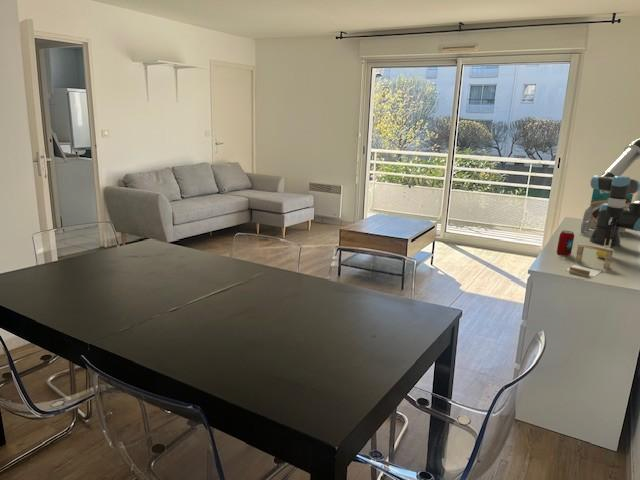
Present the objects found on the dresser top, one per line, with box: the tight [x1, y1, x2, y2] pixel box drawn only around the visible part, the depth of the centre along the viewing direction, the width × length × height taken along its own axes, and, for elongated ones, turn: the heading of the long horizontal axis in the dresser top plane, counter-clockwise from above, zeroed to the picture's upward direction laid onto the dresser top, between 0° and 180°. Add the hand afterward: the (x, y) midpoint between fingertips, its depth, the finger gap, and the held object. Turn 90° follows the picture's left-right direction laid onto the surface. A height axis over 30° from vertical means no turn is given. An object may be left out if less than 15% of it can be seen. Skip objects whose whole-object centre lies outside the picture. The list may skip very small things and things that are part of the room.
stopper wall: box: [568, 266, 590, 278], centre depth 218 cm, size 2×8×2 cm, turn 48°
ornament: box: [578, 205, 595, 237], centre depth 297 cm, size 22×13×17 cm, turn 137°
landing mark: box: [565, 264, 602, 278], centre depth 224 cm, size 12×12×1 cm
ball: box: [595, 250, 607, 259], centre depth 246 cm, size 6×6×6 cm
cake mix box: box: [589, 188, 634, 234], centre depth 311 cm, size 22×6×30 cm, turn 58°
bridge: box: [574, 242, 614, 270], centre depth 233 cm, size 3×14×9 cm, turn 48°
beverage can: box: [556, 230, 575, 257], centre depth 249 cm, size 7×7×12 cm
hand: (606, 250), depth 253 cm, fingers closed
